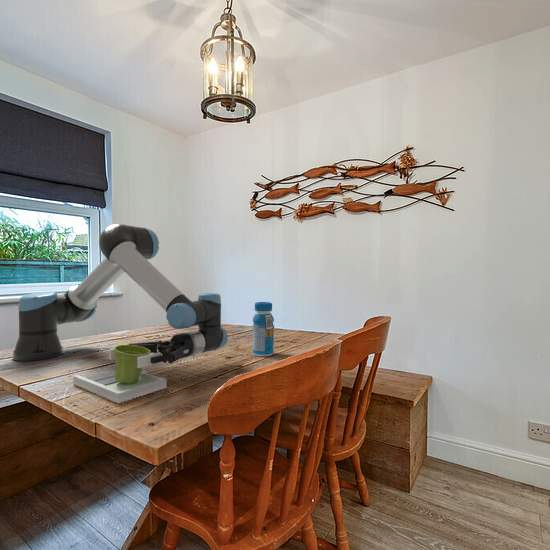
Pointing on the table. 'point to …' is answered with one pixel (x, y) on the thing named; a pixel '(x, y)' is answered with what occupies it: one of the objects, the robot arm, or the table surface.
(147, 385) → the box
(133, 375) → the plant pot
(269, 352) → the beverage bottle
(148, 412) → the table surface
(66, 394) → the table surface
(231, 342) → the table surface
